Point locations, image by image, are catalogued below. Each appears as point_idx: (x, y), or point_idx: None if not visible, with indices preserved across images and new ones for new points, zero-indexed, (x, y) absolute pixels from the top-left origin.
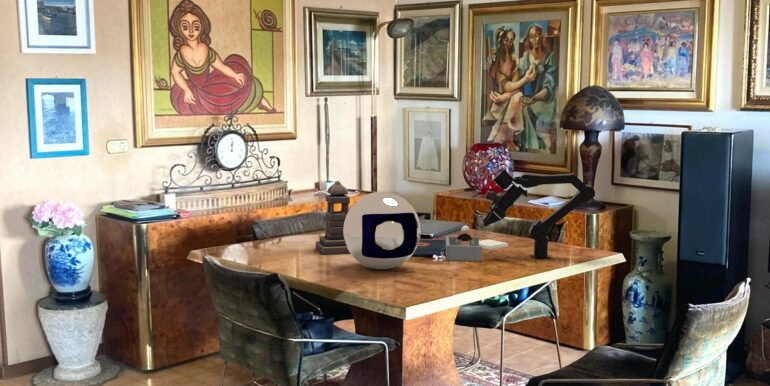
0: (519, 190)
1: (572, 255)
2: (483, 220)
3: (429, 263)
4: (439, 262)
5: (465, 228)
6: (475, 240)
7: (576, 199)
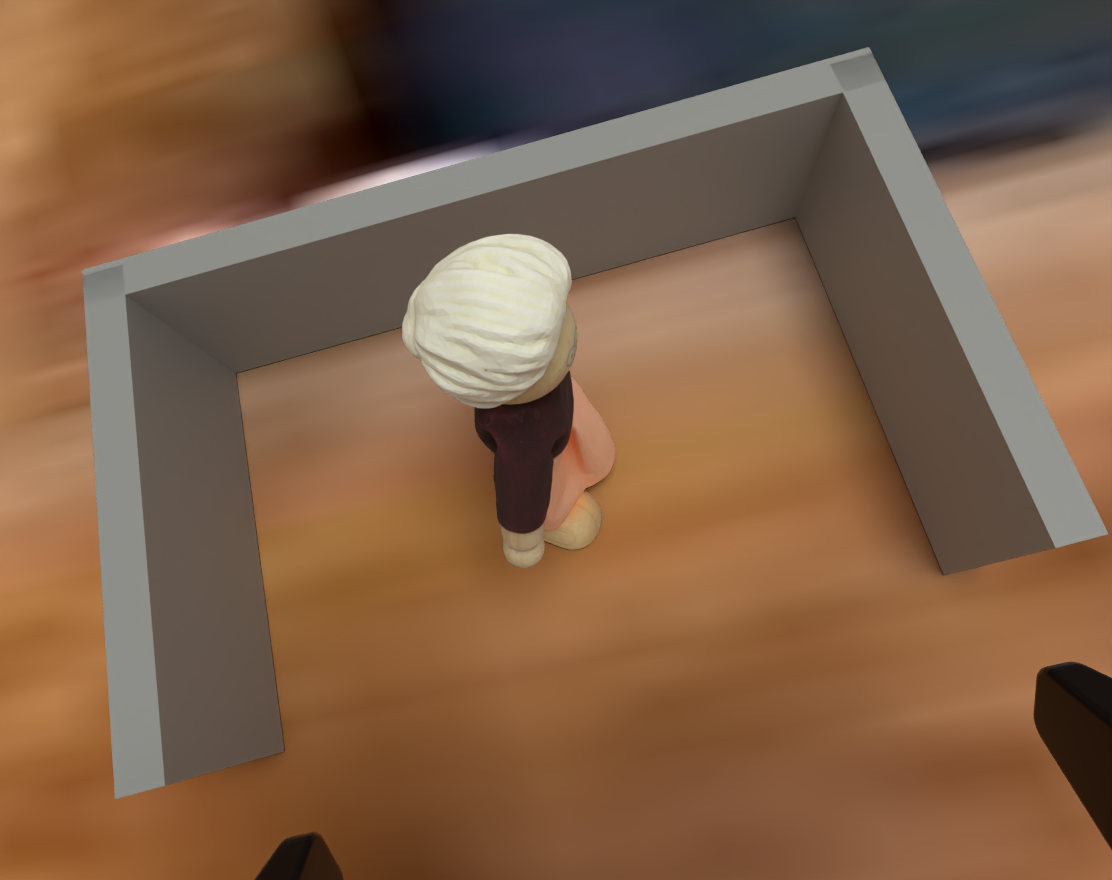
0: None
1: None
2: (1070, 689)
3: (25, 244)
4: None
5: (416, 331)
6: (994, 498)
7: None
